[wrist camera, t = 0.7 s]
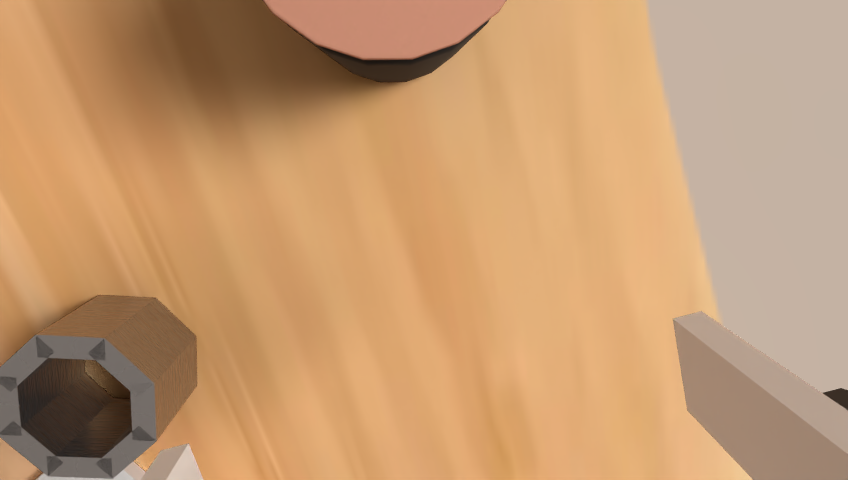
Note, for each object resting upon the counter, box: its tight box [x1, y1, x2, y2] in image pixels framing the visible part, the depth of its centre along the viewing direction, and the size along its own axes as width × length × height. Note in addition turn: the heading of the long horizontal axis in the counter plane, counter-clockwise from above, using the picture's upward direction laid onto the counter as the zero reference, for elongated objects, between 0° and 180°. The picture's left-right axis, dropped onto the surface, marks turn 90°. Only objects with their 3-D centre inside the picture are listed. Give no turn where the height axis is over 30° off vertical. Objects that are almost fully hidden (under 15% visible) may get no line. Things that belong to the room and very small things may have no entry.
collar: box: [0, 295, 197, 479], centre depth 37 cm, size 9×9×7 cm
